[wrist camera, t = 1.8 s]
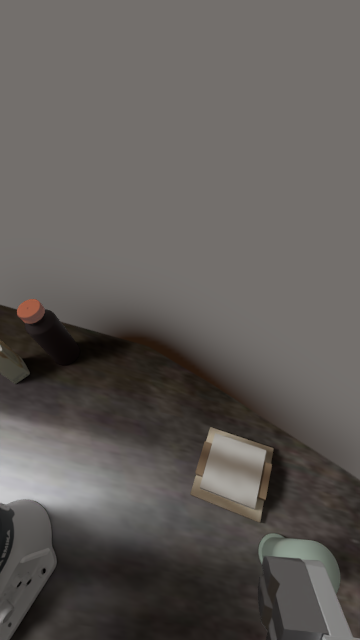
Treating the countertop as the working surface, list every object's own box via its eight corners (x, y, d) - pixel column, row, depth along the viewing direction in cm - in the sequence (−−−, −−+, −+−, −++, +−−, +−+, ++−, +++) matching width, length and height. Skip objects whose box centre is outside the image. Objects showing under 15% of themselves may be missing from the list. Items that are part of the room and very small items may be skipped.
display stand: (259, 522, 55) (261, 522, 52) (190, 494, 59) (189, 492, 55) (272, 449, 62) (275, 445, 58) (210, 428, 65) (210, 423, 62)
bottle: (66, 339, 82) (29, 291, 66) (85, 349, 80) (51, 302, 63) (49, 359, 79) (5, 314, 63) (68, 370, 77) (27, 326, 60)
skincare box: (31, 374, 77) (3, 350, 67) (15, 384, 76) (-16, 362, 66) (21, 357, 80) (-7, 332, 70) (6, 367, 79) (-25, 343, 69)
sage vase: (290, 582, 50) (343, 620, 29) (254, 567, 52) (280, 591, 30) (295, 541, 53) (347, 548, 32) (262, 527, 54) (289, 525, 33)
